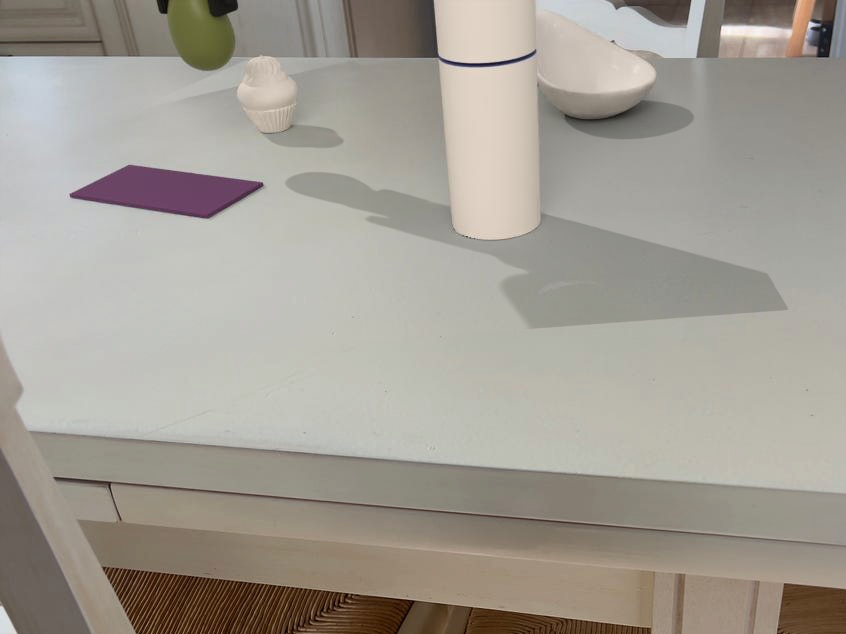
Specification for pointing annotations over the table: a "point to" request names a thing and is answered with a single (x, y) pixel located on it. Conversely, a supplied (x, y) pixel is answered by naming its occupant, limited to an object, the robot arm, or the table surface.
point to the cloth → (167, 190)
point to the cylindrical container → (490, 115)
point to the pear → (200, 34)
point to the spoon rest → (587, 70)
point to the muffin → (268, 95)
